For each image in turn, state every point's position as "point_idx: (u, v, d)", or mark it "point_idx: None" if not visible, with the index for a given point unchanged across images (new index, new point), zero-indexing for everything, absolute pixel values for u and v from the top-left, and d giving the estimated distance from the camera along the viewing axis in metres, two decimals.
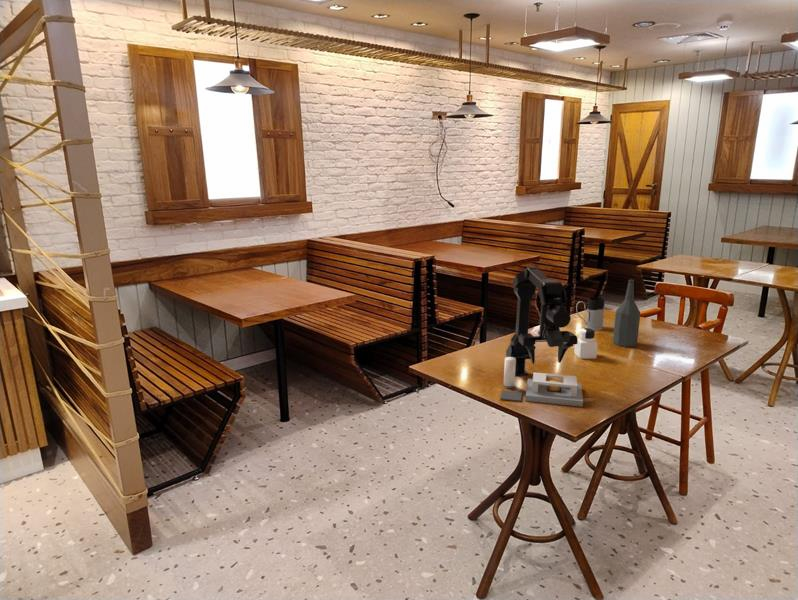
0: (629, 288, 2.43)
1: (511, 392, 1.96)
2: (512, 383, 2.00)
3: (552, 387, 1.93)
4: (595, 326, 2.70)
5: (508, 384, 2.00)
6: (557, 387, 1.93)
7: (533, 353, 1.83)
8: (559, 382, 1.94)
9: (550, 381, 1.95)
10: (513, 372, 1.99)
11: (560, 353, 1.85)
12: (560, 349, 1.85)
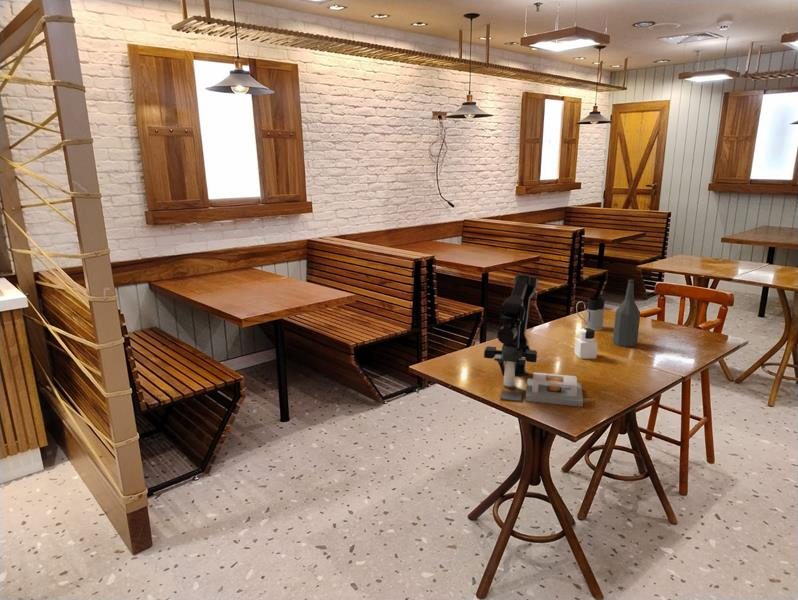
0: (629, 288, 2.43)
1: (511, 392, 1.96)
2: (512, 383, 2.00)
3: (552, 387, 1.93)
4: (595, 326, 2.70)
5: (508, 384, 2.00)
6: (557, 387, 1.93)
7: (501, 366, 2.00)
8: (559, 382, 1.94)
9: (550, 381, 1.95)
10: (513, 372, 1.99)
11: (515, 368, 2.00)
12: None
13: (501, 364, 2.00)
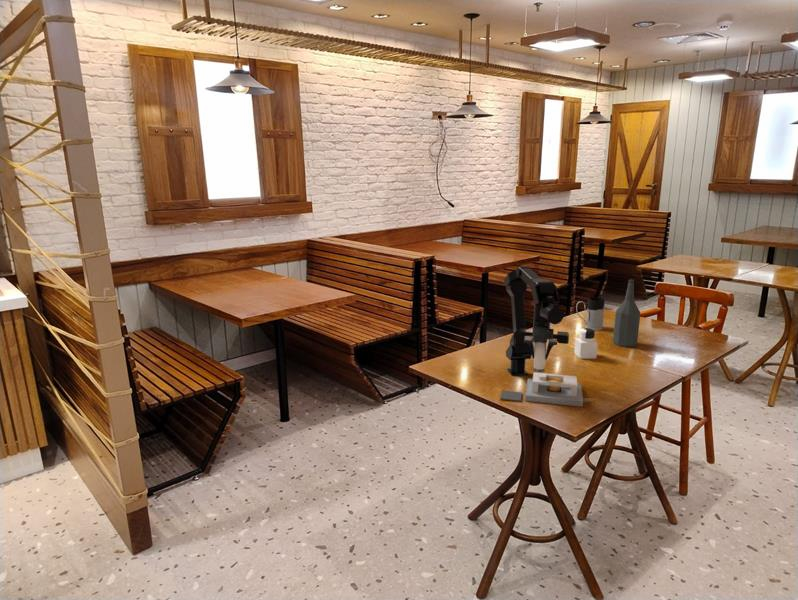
0: (629, 288, 2.43)
1: (511, 392, 1.96)
2: (542, 366, 1.93)
3: (552, 387, 1.93)
4: (595, 326, 2.70)
5: (538, 367, 1.93)
6: (557, 387, 1.93)
7: (531, 348, 1.93)
8: (559, 382, 1.94)
9: (550, 381, 1.95)
10: (543, 355, 1.92)
11: None
12: None
13: (531, 346, 1.93)
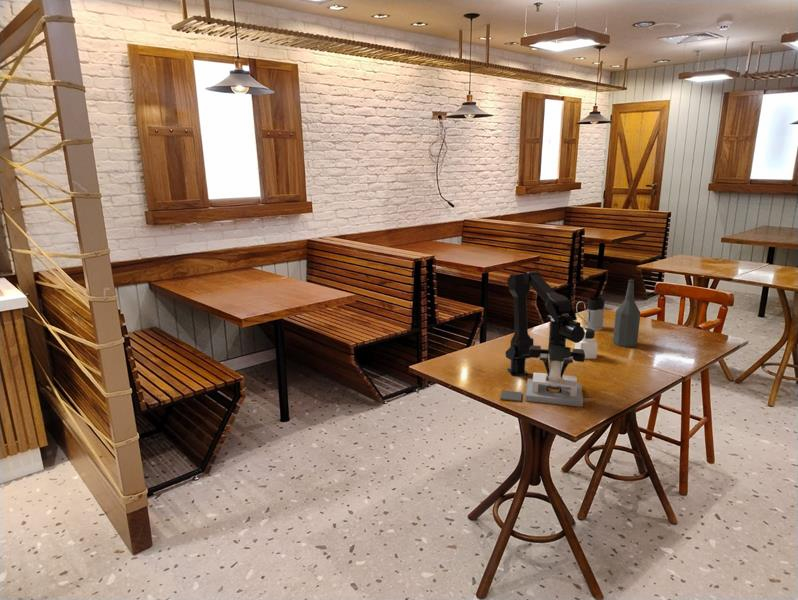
0: (629, 288, 2.43)
1: (511, 392, 1.96)
2: None
3: None
4: (595, 326, 2.70)
5: None
6: None
7: (547, 366, 1.93)
8: None
9: None
10: (559, 372, 1.92)
11: (562, 368, 1.92)
12: (562, 364, 1.93)
13: (546, 364, 1.92)
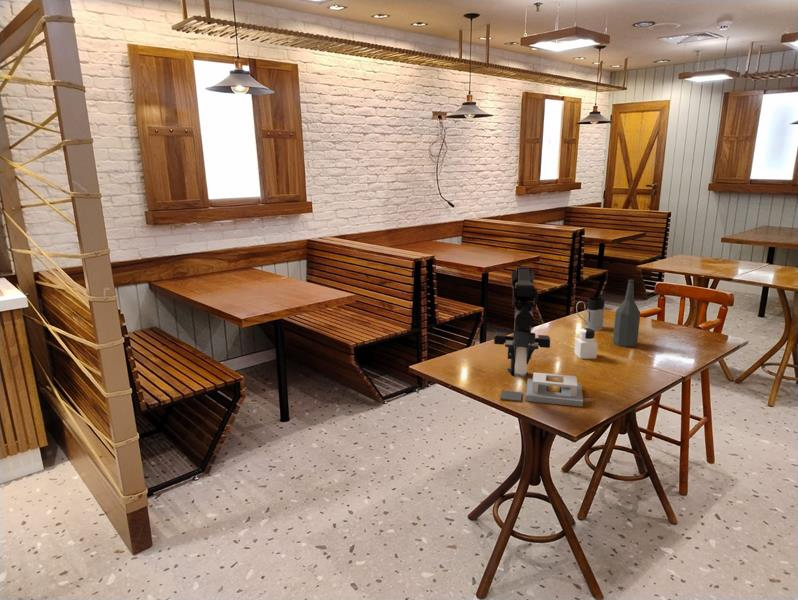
0: (629, 288, 2.43)
1: (511, 392, 1.96)
2: (524, 371, 1.90)
3: None
4: (595, 326, 2.70)
5: (520, 372, 1.90)
6: None
7: (512, 352, 1.89)
8: (559, 387, 1.95)
9: (550, 386, 1.96)
10: (525, 359, 1.89)
11: (527, 355, 1.89)
12: (528, 351, 1.89)
13: (512, 350, 1.89)
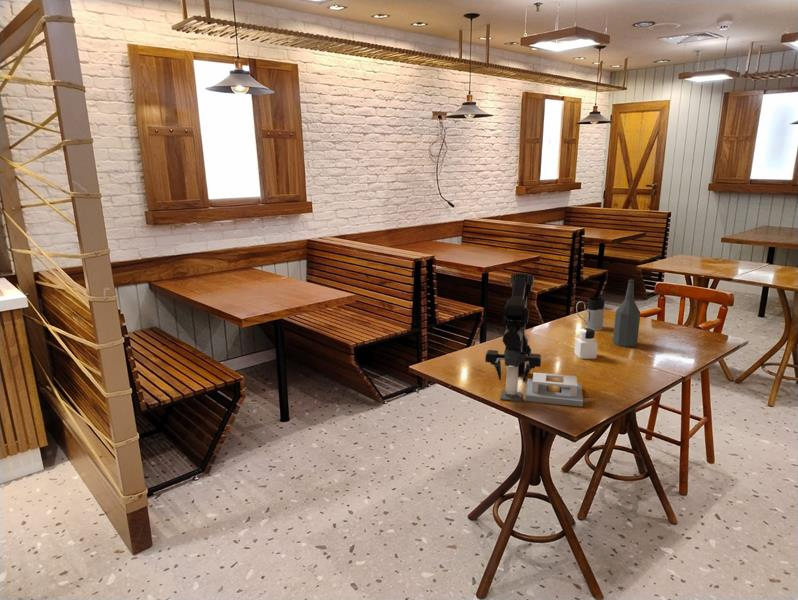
0: (629, 288, 2.43)
1: None
2: (515, 391, 1.91)
3: None
4: (595, 326, 2.70)
5: (510, 392, 1.91)
6: None
7: (498, 370, 1.92)
8: (559, 387, 1.95)
9: (550, 386, 1.96)
10: (516, 380, 1.91)
11: (524, 373, 1.90)
12: None
13: (498, 368, 1.91)
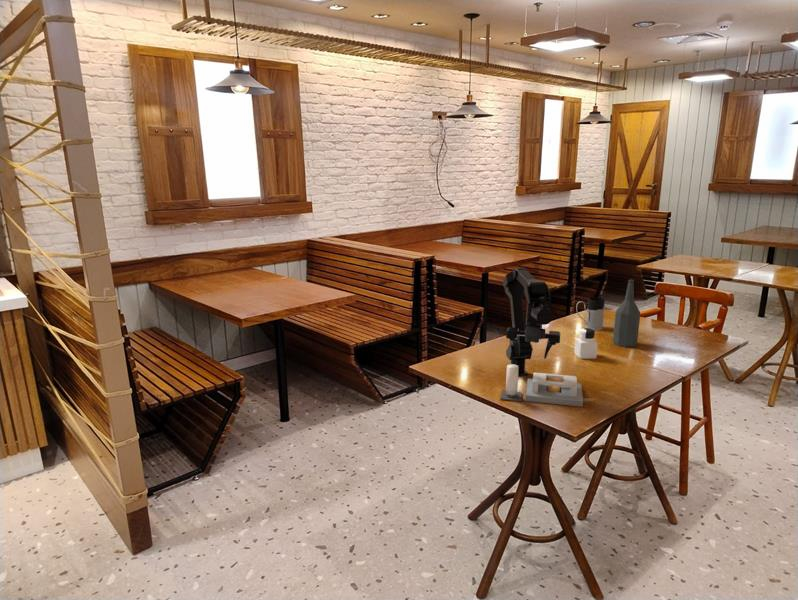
0: (629, 288, 2.43)
1: None
2: (515, 392, 1.91)
3: None
4: (595, 326, 2.70)
5: (510, 393, 1.91)
6: None
7: (517, 346, 1.98)
8: (559, 387, 1.95)
9: (550, 386, 1.96)
10: (516, 380, 1.90)
11: (545, 350, 1.96)
12: (546, 346, 1.96)
13: (517, 344, 1.98)
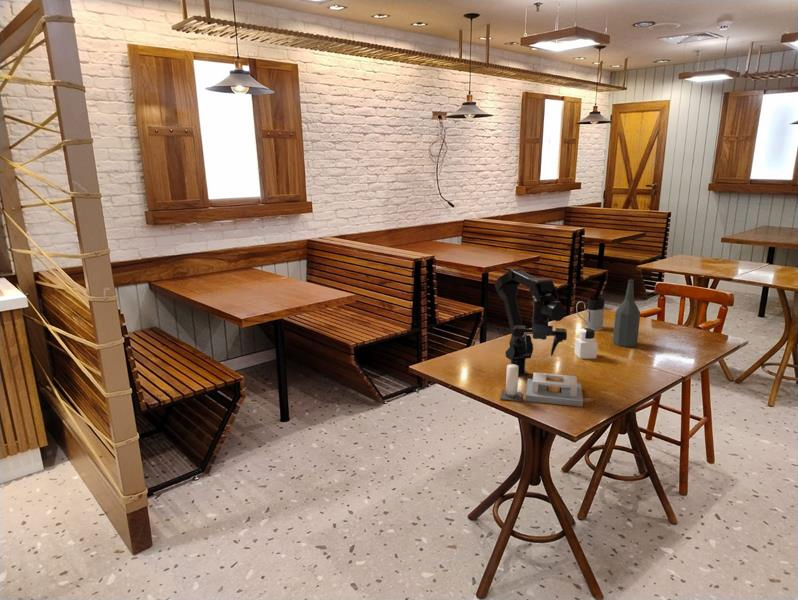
0: (629, 288, 2.43)
1: None
2: (515, 392, 1.91)
3: None
4: (595, 326, 2.70)
5: (510, 393, 1.91)
6: None
7: (524, 344, 2.00)
8: (559, 387, 1.95)
9: (550, 386, 1.96)
10: (516, 380, 1.90)
11: (552, 347, 1.99)
12: None
13: (523, 342, 2.00)
